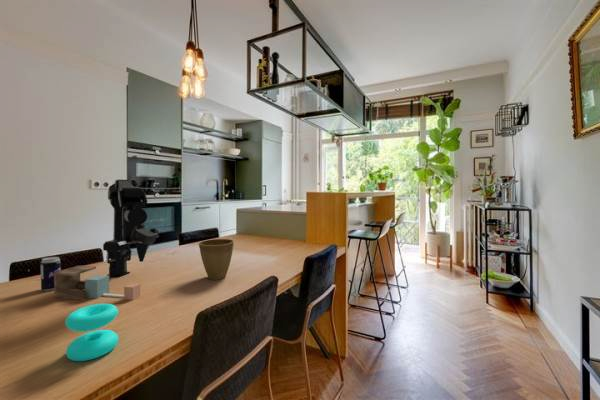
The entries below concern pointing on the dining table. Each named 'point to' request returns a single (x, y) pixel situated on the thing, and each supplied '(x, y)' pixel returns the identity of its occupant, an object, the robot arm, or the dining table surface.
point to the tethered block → (100, 287)
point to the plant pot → (216, 257)
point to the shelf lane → (70, 282)
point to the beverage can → (49, 272)
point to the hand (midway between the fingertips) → (132, 264)
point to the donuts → (93, 341)
